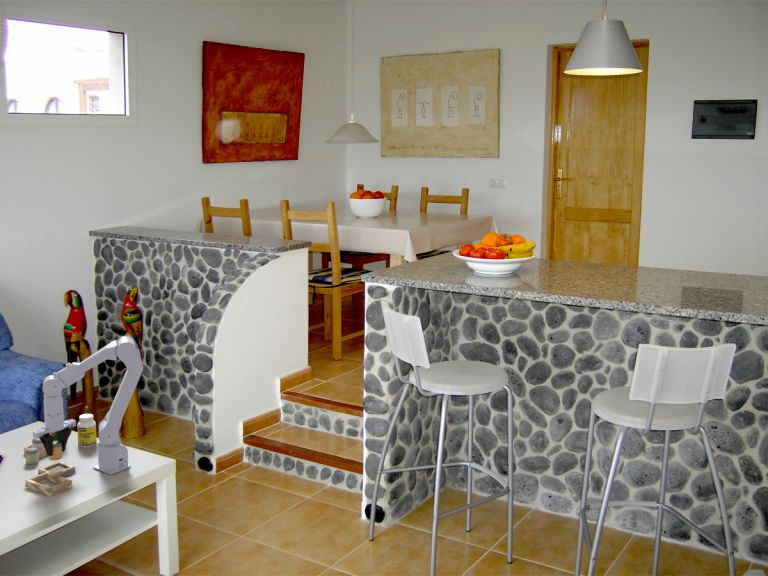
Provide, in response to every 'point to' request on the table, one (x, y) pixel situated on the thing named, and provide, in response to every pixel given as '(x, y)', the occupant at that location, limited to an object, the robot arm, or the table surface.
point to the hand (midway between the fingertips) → (55, 453)
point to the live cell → (56, 451)
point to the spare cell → (32, 456)
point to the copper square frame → (41, 452)
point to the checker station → (52, 478)
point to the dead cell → (37, 444)
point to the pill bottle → (86, 431)
